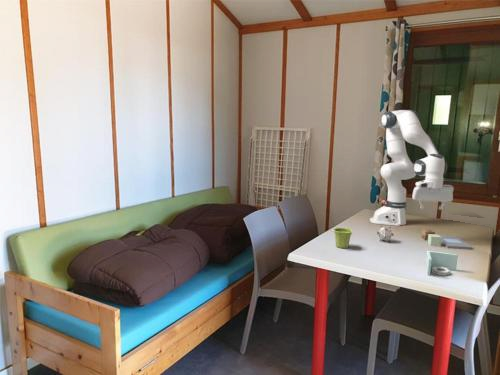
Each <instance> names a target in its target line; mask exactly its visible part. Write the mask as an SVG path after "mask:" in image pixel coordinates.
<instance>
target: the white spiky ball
mask: <svg viewBox="0 0 500 375" xmlns="http://www.w3.org/2000/svg"><path fill="white" fill-rule="evenodd" d="M391 228H392V227H391V226H390V227H386V226H385V227H383V226H382V225H380V229H379V231H377V233H376V234H377V235H378V237H379V242H381V241H386V242H389V243H390V242H391V238H392V236H394V233H393V232H392V229H391Z"/></svg>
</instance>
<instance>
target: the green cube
mask: <svg viewBox="0 0 500 375" xmlns="http://www.w3.org/2000/svg"><path fill="white" fill-rule="evenodd" d="M439 235H440V234H436V233H435V234H428V240H427V244H428V245H429V246H433V247H441V245H442V243H441V238H442V237H441V236H442V235H441V236H439Z"/></svg>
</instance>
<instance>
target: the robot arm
mask: <svg viewBox="0 0 500 375" xmlns="http://www.w3.org/2000/svg"><path fill="white" fill-rule="evenodd" d="M380 122H381V125H382V127H383V128H385V129H386V130H385V141H386V142H385V143H386V150H387V151H386V153H387V155H388V156H389V157H390V158H391V159H392V161H393V162H389V163H386V164H385V163H384V164H382V166H381V168H380V172H379V173H380V176H381V178H382V179H384V181H385V183H386V186H387V199H386V200H385V199H383V200H382V201H381V203H383V206H381V207H379V208H377V209H376V210H375V211H374V214H373V216H372V217H370V218H369V222H371V223H372V224H375V225H376V224H377V225H386V226H394V227H395V226H397V227H400V226H403V225H406V224H407V220H406V209H407V201H406V200H407V188H405V186H403V184H402V180H406V181H407V180H410V179H413V178H415V177H416V176H419V177H425V178H424V179H423V180H420V181H416V182H415V187H414V188H413V191H412V197H411V198H412V200H414V201H416V202H417V201H418V203H419V205H420V206H419V207H420V209H422V210H425V205H424V204H423V202H440V203H441V204H440V205H438V210H439V211H440V210H441V211H442V210H443V207H444V206H445V204H446V202H447V203H452V202H453V200H454V194H453V192H454V189H455V188H454V186H453V185H451V184H444V175H445V174H446V173H447V171H448V164H447V162H446V161H445V157H444V155H442V154H440V152H439V150H438V148H437V147H436V144H435V143H434V141H433V139H432V138H431V136H429V134H427V133H426V132H425V131H424V129H423V127H422V124H421V122H420V120H419V115H418V113H417V111H416V110H413V109H408V110H407V109H399V110H391V111H386V112H384V113H383V114H382V115H381V121H380ZM406 142H407V143H409V144H411V145H414V146H417V147H420V148H421V149H423V150H424V151H425V153H426V155H427V156H425V157H424V158H421V159H417V160H416V161H415V162H412V161H411V159H410V157H409V156H408V153H407V147H406Z"/></svg>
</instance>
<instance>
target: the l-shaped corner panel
mask: <svg viewBox="0 0 500 375" xmlns="http://www.w3.org/2000/svg"><path fill="white" fill-rule="evenodd" d="M458 256H459V255H458V254H455V253H448V252H441V251H432V250H426V257H425V258H426V260H425V270H426V275H427V276H431V272H432V271H433V272H432V273H433V274H436V275H439V276H449V275H451V271H454V272H455V271H457V265H458Z"/></svg>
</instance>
